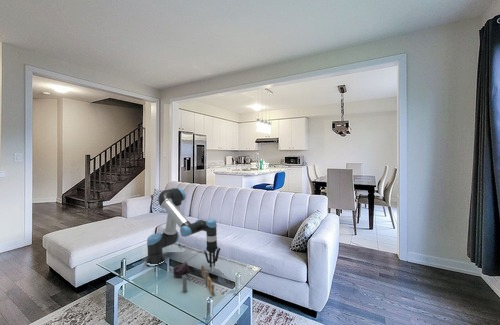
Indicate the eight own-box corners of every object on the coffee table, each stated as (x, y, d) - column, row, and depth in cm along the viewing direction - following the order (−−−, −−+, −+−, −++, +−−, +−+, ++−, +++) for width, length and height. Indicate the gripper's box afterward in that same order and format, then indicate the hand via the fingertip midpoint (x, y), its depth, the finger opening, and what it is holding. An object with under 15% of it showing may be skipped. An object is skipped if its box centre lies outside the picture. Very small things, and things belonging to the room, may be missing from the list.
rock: (173, 276, 174) (177, 282, 165) (171, 265, 173) (174, 271, 164) (188, 269, 180) (192, 274, 172) (186, 259, 179) (190, 264, 171)
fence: (207, 286, 158) (206, 276, 157) (209, 285, 158) (208, 275, 158) (212, 296, 147) (211, 285, 147) (214, 295, 148) (213, 284, 147)
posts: (182, 290, 153) (181, 275, 153) (208, 283, 161) (208, 268, 161) (182, 293, 151) (182, 277, 150) (209, 285, 158) (209, 270, 158)
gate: (207, 283, 161) (207, 273, 161) (206, 284, 160) (205, 274, 160) (203, 275, 172) (203, 265, 172) (201, 275, 172) (201, 266, 171)
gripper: (218, 237, 176) (219, 266, 177) (201, 240, 170) (202, 270, 171) (221, 240, 169) (222, 271, 170) (204, 243, 163) (205, 275, 164)
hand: (212, 270), depth 171 cm, fingers closed
